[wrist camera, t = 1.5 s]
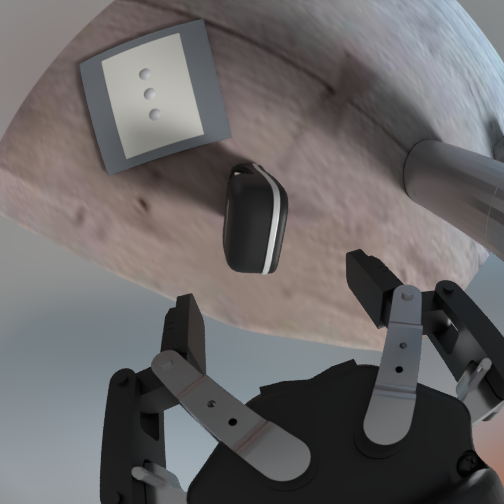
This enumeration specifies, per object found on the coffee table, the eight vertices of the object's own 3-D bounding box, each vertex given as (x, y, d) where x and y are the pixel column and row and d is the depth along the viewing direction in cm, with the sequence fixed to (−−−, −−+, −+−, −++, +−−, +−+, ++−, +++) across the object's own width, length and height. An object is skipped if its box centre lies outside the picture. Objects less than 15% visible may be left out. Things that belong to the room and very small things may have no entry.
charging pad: (203, 21, 19) (203, 18, 18) (231, 136, 25) (232, 137, 24) (83, 65, 19) (78, 64, 18) (111, 174, 25) (108, 176, 24)
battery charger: (224, 158, 26) (233, 186, 16) (262, 162, 27) (293, 192, 17) (218, 222, 29) (224, 283, 20) (253, 225, 30) (275, 284, 20)
